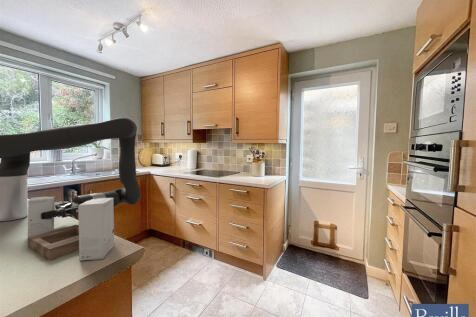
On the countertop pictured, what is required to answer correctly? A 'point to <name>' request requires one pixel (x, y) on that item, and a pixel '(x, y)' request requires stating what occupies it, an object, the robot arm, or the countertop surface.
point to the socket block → (55, 242)
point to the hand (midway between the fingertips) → (35, 214)
